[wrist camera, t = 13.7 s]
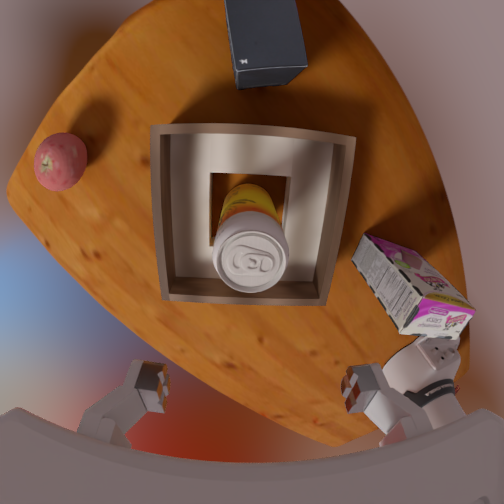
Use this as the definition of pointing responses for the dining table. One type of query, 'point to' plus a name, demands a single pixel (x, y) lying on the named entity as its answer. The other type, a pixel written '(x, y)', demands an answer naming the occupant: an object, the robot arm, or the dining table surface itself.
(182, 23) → the dining table surface
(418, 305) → the candy bar box
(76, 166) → the apple
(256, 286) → the beer can
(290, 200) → the wooden box
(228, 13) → the small box
